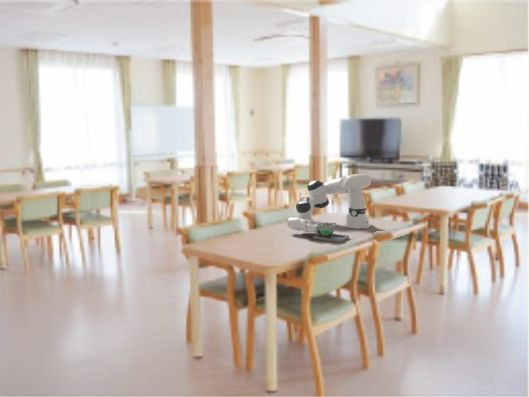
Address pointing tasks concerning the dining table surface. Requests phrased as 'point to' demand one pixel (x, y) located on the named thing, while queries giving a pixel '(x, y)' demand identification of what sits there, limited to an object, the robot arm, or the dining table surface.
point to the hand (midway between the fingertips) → (328, 227)
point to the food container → (326, 229)
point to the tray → (332, 238)
